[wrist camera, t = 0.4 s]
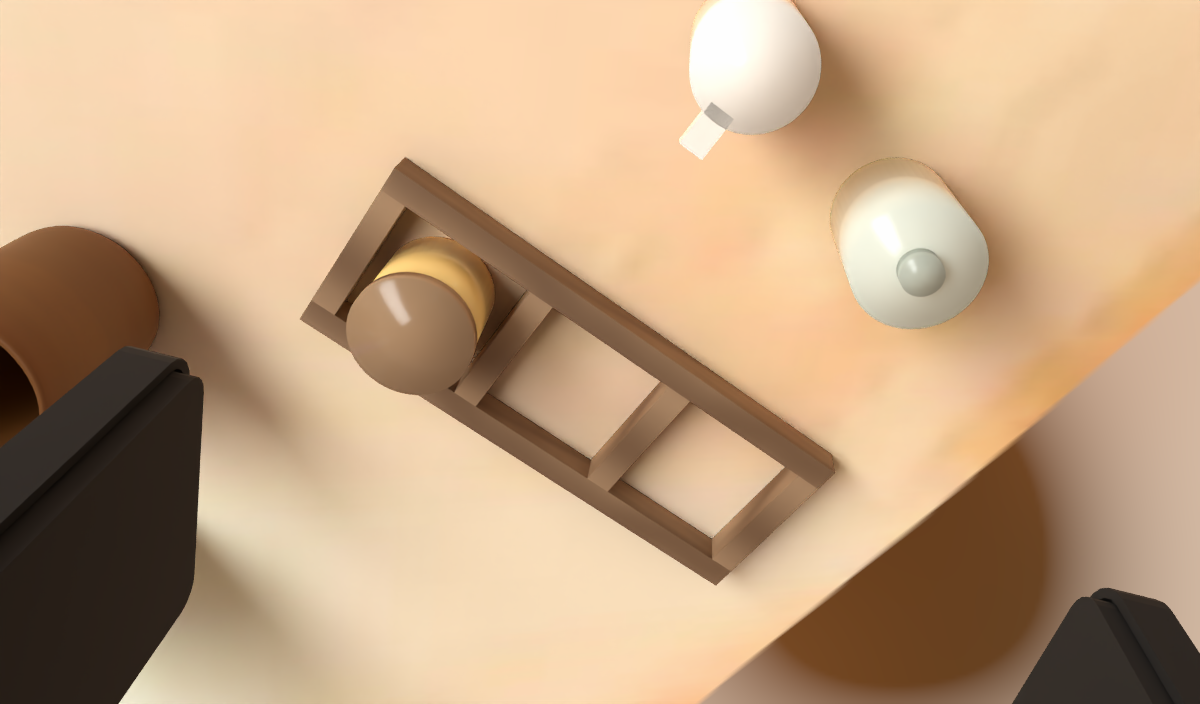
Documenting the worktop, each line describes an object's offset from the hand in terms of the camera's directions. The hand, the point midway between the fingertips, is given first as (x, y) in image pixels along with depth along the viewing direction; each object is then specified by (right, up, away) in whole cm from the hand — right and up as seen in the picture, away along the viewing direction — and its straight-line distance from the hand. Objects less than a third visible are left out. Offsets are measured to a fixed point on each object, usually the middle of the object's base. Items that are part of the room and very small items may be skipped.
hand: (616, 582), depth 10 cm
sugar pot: (+12, +8, +31) cm, 34 cm away
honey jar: (-8, +5, +34) cm, 35 cm away
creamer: (+6, +15, +28) cm, 32 cm away
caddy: (-1, +1, +36) cm, 36 cm away
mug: (-23, +4, +37) cm, 43 cm away
